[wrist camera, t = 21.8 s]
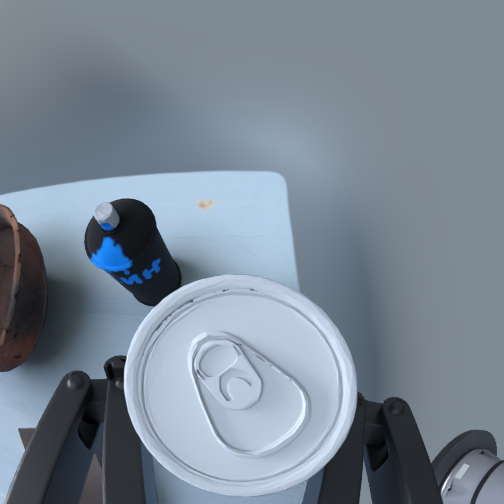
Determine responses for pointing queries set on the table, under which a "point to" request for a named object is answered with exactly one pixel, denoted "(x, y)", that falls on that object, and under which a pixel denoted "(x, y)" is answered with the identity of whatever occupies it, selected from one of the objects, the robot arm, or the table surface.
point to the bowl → (19, 291)
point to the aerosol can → (132, 250)
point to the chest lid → (93, 486)
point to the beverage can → (240, 385)
